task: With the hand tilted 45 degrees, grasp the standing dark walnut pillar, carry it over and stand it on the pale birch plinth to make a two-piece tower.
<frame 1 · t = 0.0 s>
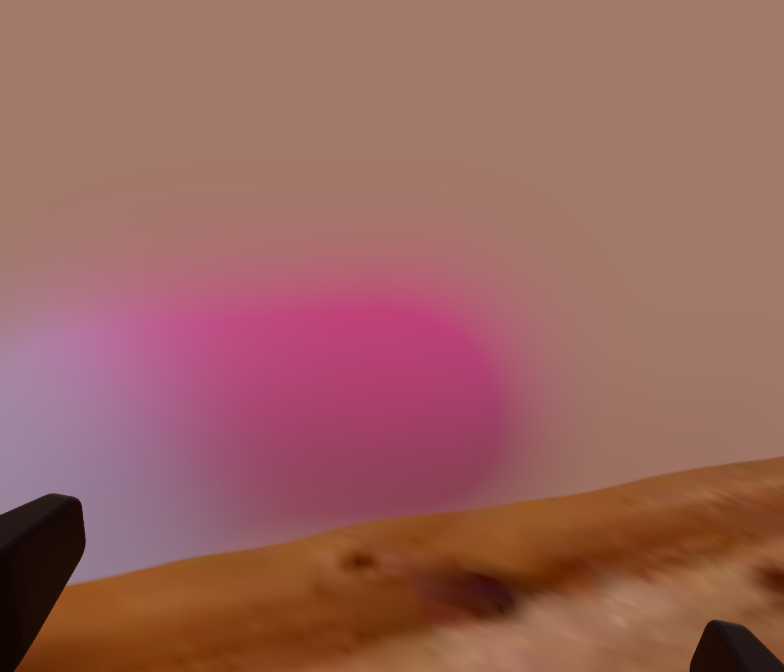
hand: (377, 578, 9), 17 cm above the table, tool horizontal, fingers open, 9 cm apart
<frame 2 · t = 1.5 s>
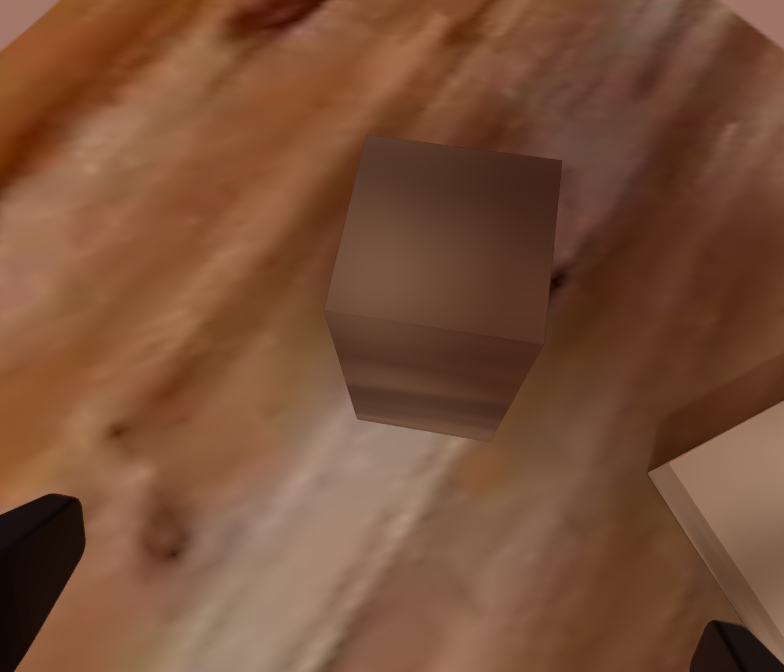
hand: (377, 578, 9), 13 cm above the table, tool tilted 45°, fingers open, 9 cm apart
walnut pillar: (433, 367, 24), on the table
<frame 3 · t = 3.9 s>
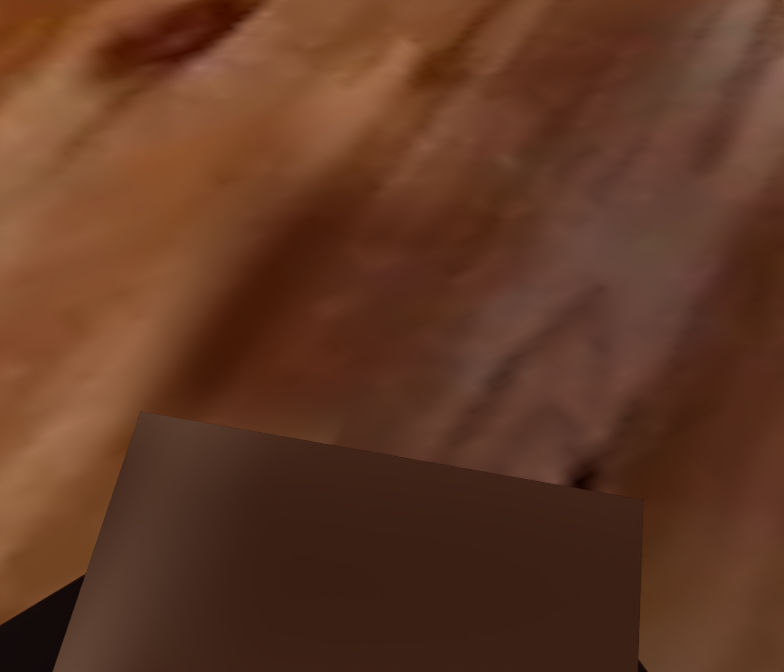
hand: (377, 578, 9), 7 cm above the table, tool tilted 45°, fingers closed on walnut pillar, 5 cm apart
walnut pillar: (379, 644, 14), on the table, touching gripper
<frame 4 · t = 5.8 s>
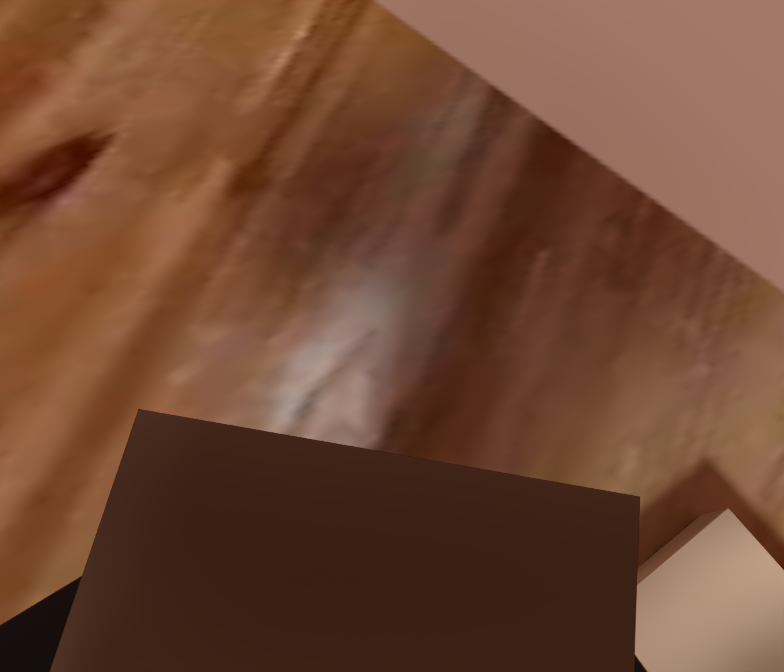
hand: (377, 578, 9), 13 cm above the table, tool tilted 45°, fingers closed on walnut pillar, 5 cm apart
walnut pillar: (378, 643, 15), point 7 cm above the table, touching gripper
when the fingers open (9 cm above the table, at t = 8.1 s): walnut pillar stays where it is, resting on birch plinth.
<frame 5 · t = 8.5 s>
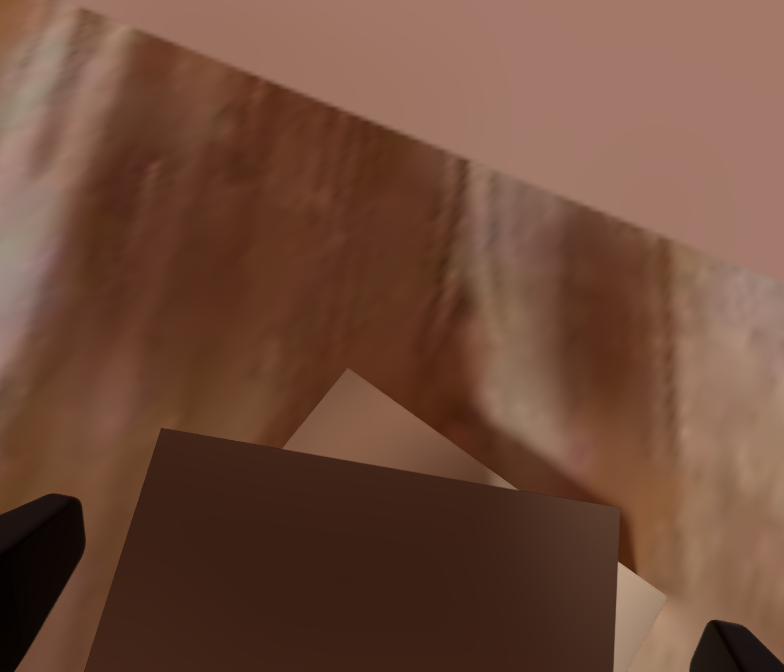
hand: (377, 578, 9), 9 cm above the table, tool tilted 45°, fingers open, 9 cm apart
birch plinth: (384, 635, 17), on the table
walnut pillar: (380, 642, 15), point 2 cm above the table, touching birch plinth
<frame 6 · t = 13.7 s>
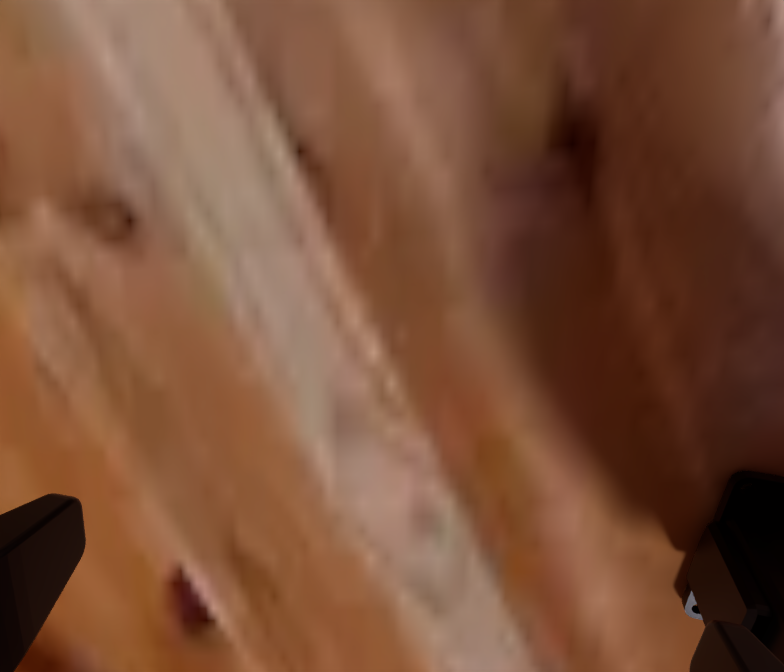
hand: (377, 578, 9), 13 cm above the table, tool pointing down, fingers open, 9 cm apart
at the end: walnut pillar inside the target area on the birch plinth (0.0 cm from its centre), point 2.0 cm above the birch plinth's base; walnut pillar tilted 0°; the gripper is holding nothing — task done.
